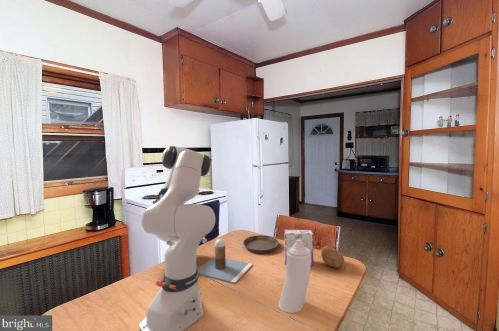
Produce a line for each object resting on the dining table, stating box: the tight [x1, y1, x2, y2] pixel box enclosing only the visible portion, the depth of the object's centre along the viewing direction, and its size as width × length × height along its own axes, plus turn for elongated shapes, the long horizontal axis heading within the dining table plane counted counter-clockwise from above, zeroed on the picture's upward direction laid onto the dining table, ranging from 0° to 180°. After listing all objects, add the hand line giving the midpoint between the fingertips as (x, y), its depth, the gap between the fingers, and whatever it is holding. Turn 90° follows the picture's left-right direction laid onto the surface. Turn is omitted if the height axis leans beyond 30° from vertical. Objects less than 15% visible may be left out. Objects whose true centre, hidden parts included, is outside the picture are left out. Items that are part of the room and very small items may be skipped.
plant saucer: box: [242, 234, 279, 254], centre depth 145 cm, size 21×21×3 cm
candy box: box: [284, 229, 314, 266], centre depth 124 cm, size 14×6×16 cm, turn 84°
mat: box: [197, 256, 254, 285], centre depth 119 cm, size 18×22×1 cm
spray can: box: [277, 240, 312, 314], centre depth 92 cm, size 12×11×25 cm
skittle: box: [214, 238, 226, 270], centre depth 120 cm, size 5×5×14 cm
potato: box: [320, 245, 345, 269], centre depth 121 cm, size 10×14×8 cm
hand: (200, 243), depth 124 cm, fingers open, 8 cm apart
